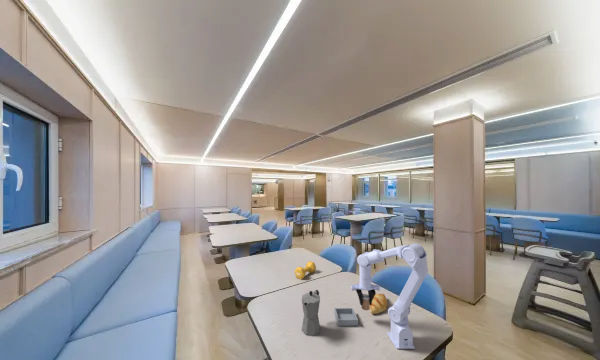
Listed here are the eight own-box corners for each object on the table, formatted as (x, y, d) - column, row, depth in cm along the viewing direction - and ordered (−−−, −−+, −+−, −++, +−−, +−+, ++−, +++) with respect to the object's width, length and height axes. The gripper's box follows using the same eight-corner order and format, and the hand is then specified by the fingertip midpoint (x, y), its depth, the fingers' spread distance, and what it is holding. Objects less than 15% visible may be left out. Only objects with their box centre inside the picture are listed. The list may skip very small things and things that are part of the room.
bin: (358, 326, 100) (358, 320, 101) (338, 326, 100) (337, 320, 100) (352, 313, 110) (352, 308, 111) (334, 313, 110) (334, 308, 110)
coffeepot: (314, 342, 90) (314, 300, 91) (295, 334, 95) (295, 295, 95) (326, 321, 104) (326, 285, 104) (310, 316, 108) (310, 281, 109)
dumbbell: (302, 281, 149) (302, 269, 149) (293, 277, 154) (293, 266, 155) (317, 272, 164) (317, 262, 164) (308, 269, 169) (308, 259, 170)
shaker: (370, 310, 103) (370, 298, 103) (362, 310, 103) (362, 298, 103) (368, 305, 107) (367, 293, 107) (360, 305, 107) (360, 294, 107)
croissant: (377, 324, 107) (384, 313, 105) (360, 309, 113) (367, 298, 110) (387, 305, 124) (394, 295, 122) (372, 292, 130) (378, 283, 127)
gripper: (376, 274, 109) (376, 299, 109) (349, 274, 109) (349, 300, 109) (381, 279, 102) (381, 307, 102) (352, 280, 102) (353, 307, 102)
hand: (365, 304), depth 105 cm, fingers closed on shaker, 4 cm apart
